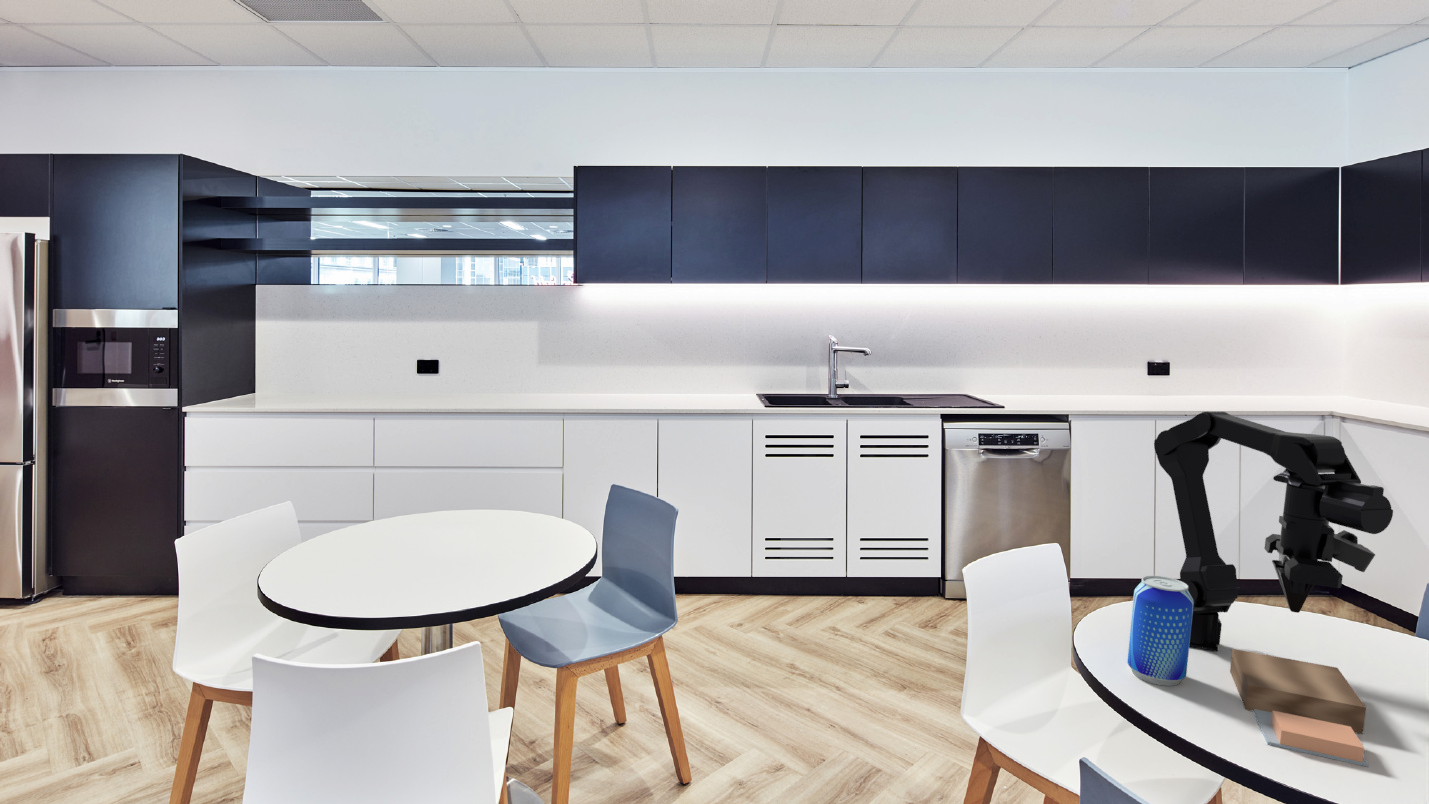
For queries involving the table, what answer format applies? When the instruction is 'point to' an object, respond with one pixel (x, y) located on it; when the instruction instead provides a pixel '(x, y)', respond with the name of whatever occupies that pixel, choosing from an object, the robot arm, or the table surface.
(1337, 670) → the brown box
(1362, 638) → the table surface
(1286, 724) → the peach rectangular block
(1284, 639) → the table surface
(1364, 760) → the mat
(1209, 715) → the table surface
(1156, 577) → the beer can
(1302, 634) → the table surface
